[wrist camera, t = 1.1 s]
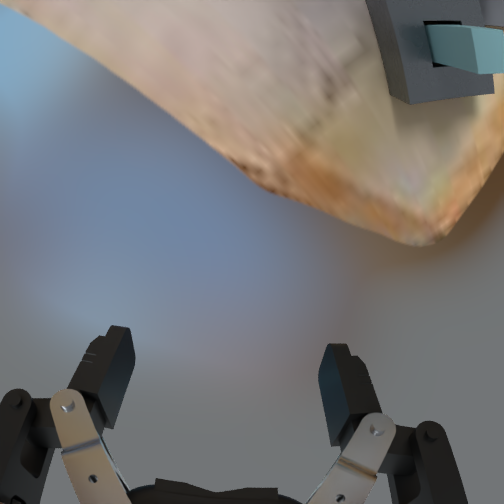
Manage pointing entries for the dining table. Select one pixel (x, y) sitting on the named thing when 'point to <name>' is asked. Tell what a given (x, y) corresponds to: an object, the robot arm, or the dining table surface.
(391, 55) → the socket block
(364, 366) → the robot arm
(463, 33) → the peg
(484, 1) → the mat
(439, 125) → the dining table surface
